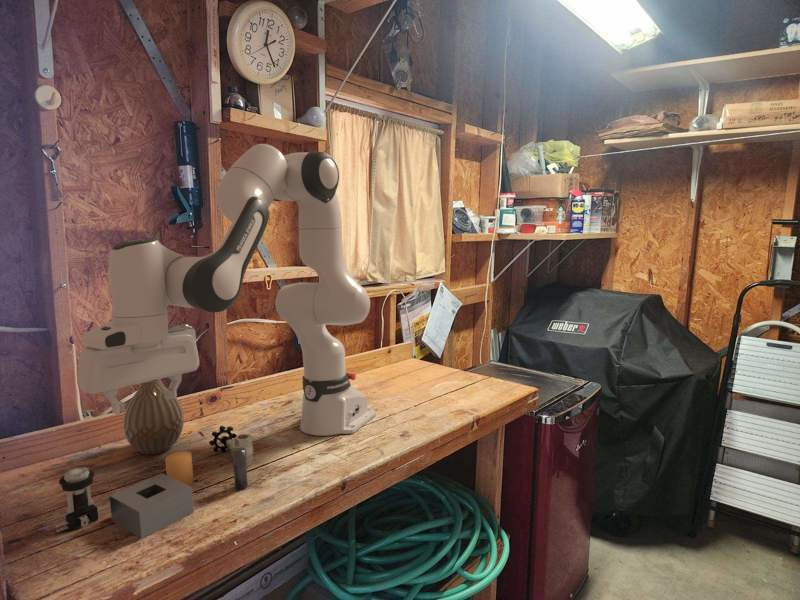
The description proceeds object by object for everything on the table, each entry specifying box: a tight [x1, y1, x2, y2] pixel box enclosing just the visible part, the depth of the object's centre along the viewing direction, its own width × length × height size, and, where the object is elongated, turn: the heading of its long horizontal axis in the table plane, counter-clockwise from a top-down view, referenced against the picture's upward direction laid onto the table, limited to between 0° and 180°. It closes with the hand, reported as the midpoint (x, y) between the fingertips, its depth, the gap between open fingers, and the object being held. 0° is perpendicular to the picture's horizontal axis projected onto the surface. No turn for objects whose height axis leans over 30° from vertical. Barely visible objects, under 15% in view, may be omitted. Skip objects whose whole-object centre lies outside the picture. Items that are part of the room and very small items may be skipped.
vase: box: [122, 379, 185, 455], centre depth 121 cm, size 13×13×18 cm
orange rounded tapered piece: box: [164, 451, 194, 486], centre depth 104 cm, size 5×5×6 cm
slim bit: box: [231, 448, 249, 491], centre depth 102 cm, size 3×3×8 cm
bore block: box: [109, 472, 194, 540], centre depth 92 cm, size 10×10×5 cm
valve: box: [208, 425, 254, 468], centre depth 115 cm, size 7×7×12 cm
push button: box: [55, 466, 99, 533], centre depth 89 cm, size 7×5×10 cm
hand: (145, 405), depth 90 cm, fingers open, 8 cm apart
